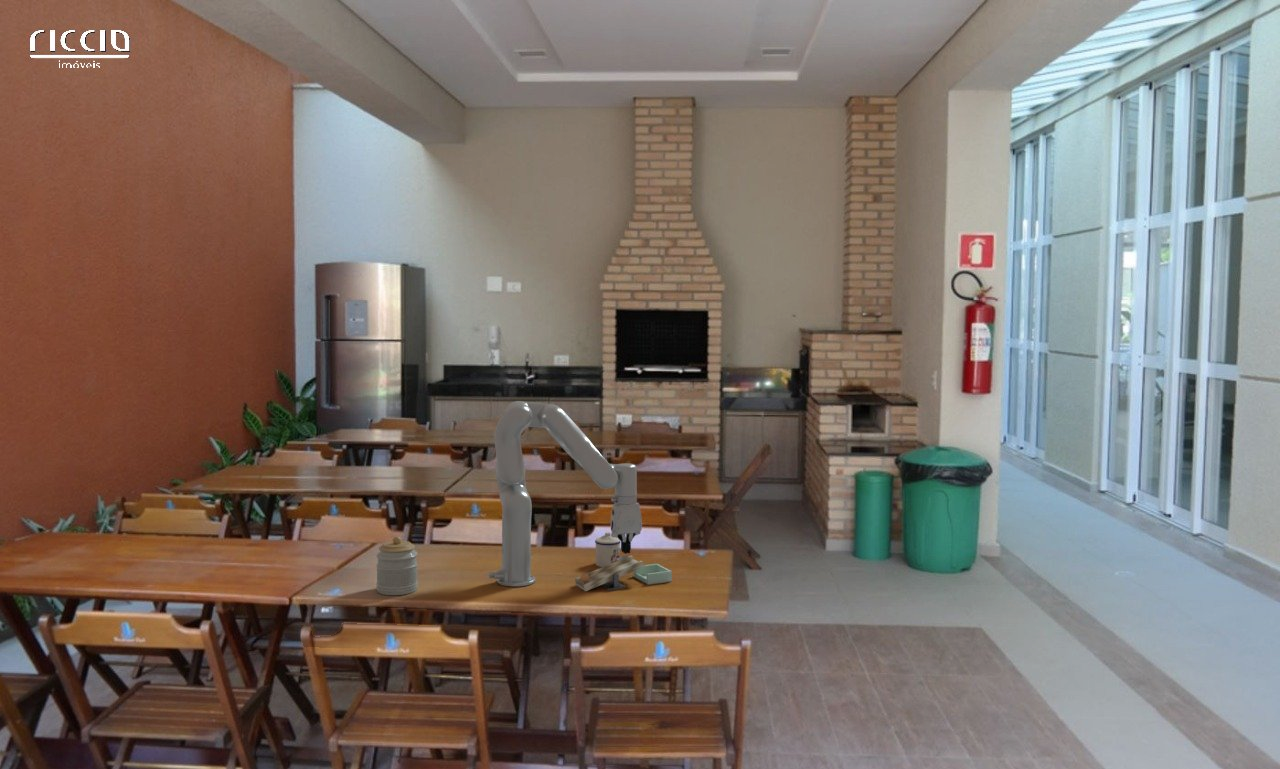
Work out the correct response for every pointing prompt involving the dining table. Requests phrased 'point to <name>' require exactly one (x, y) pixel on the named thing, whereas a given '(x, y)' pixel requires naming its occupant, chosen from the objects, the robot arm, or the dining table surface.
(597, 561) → the teacup with lid
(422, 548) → the dining table surface
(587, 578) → the ball
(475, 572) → the dining table surface
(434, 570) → the dining table surface
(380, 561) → the jar
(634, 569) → the lever
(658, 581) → the tray
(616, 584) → the fulcrum
